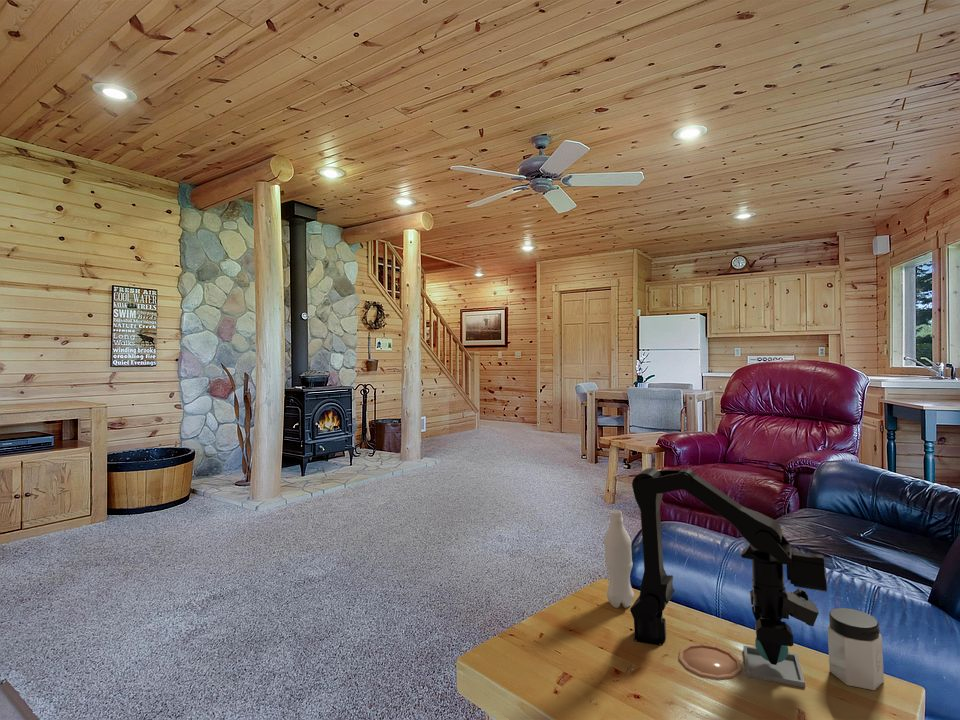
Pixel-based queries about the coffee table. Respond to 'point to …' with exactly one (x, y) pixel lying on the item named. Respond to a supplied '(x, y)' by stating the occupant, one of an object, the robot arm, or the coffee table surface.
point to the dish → (710, 661)
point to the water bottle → (618, 562)
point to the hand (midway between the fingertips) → (771, 655)
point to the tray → (773, 668)
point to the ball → (761, 651)
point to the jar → (855, 648)
